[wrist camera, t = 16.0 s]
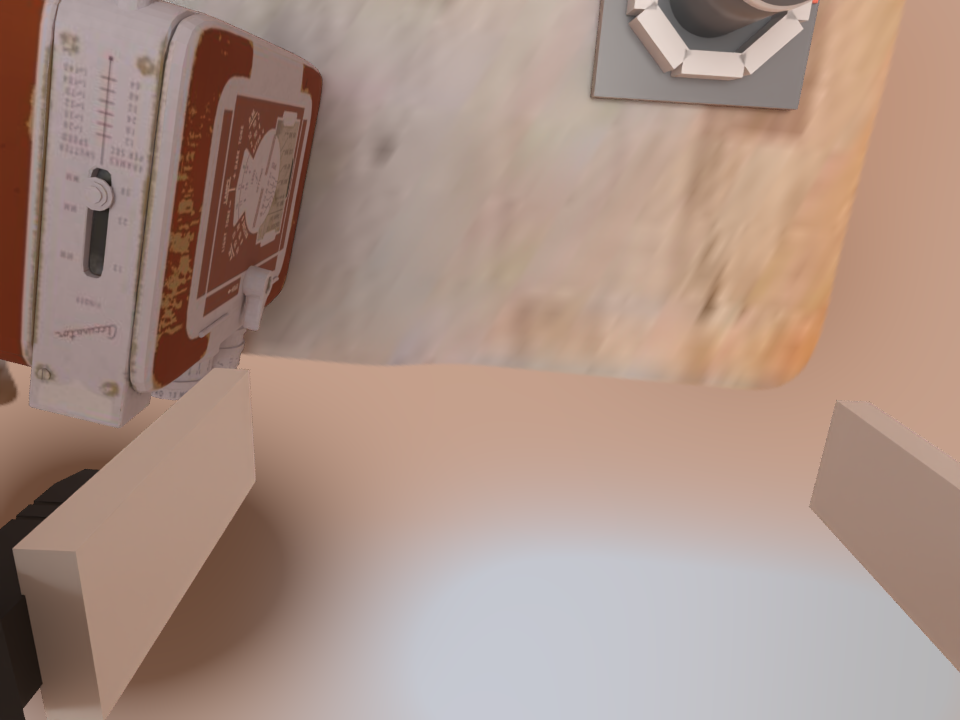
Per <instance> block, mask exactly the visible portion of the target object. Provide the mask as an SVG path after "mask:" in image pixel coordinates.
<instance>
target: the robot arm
mask: <svg viewBox="0 0 960 720" xmlns="http://www.w3.org/2000/svg"><path fill="white" fill-rule="evenodd" d="M255 481H256V475H255V456H254V440H253V422H252V405H251V387H250V371H249V369H230V368H213V369H212V370H211V371H210V372H209V373H208V374H207V375H206V376H204V377H203V378H202V379H201V380H200V381H199V382H198V383H197V384H196V385H194V386H193V387H192V388H191V389H190V390H189V391H188V392H187V393H185V394H184V395H183V396H182V397H181V398H180V399H179V400H178V401H177V402H176V403H174V404H173V405H172V406H171V407H170V408H169V409H168V410H166V411H165V412H164V413H163V414H162V415H161V416H160V417H159V418H158V419H156V420H155V421H154V422H153V423H152V424H151V425H150V426H149V427H148V428H146V429H145V430H144V431H143V432H142V433H141V434H140V435H139V436H137V437H136V439H134V440H133V441H132V442H131V443H130V444H129V445H127V446H126V447H125V448H124V449H123V450H122V451H121V452H120V453H118V454H117V455H116V456H115V457H114V458H113V459H112V460H111V461H110V462H109V463H107V464H106V465H105V466H104V467H103V468H102V469H101V470H92V469H84V470H82V471H80V472H78V473H76V474H74V475H72V476H70V477H68V478H66V479H63V480H61V481H60V482H57V483H55V484H54V485H53V486H51V487H50V488H49V489H48V490H46V491H45V492H44V493H43V494H42V495H41V496H40V497H38V498H37V499H36V500H34V504H33V505H31V504H30V505H28V506H27V507H26V508H25V509H24V510H22V511H21V512H20V513H19V514H18V515H17V516H16V519H12V520H11V521H9V522H8V523H7V524H6V525H5V526H3V527H2V528H1V529H0V720H25V717H24V713H23V708H24V707H25V706H26V704H27V703H28V702H29V701H30V699H31V698H32V697H33V695H34V694H35V693H36V691H37V690H38V689H39V688H40V689H41V694H42V699H43V703H44V709H45V713H46V718H47V720H106V718H107V717H108V715H109V713H110V712H111V710H112V709H113V707H114V705H115V704H116V702H117V701H118V699H119V697H120V696H121V694H122V693H123V691H124V690H125V688H126V686H127V685H128V683H129V682H130V680H131V678H132V677H133V675H134V674H135V672H136V670H137V669H138V667H139V666H140V664H141V662H142V661H143V659H144V658H145V656H146V654H147V653H148V651H149V650H150V648H151V646H152V645H153V643H154V642H155V640H156V639H157V637H158V636H159V634H160V632H161V631H162V629H163V628H164V626H165V624H166V622H167V621H168V620H169V618H170V616H171V615H172V613H173V612H174V610H175V608H176V607H177V605H178V604H179V602H180V601H181V599H182V597H183V596H184V594H185V593H186V591H187V589H188V588H189V586H190V585H191V583H192V581H193V580H194V578H195V577H196V575H197V573H198V572H199V570H200V569H201V567H202V565H203V564H204V562H205V561H206V559H207V557H208V556H209V554H210V553H211V551H212V550H213V548H214V546H215V545H216V543H217V541H218V540H219V539H220V537H221V535H222V534H223V532H224V530H225V529H226V527H227V526H228V524H229V523H230V521H231V519H232V518H233V516H234V515H235V513H236V512H237V510H238V508H239V507H240V505H241V504H242V502H243V500H244V499H245V497H246V496H247V494H248V492H249V491H250V489H251V488H252V486H253V484H254V483H255ZM809 507H810V508H811V509H812V510H813V511H814V513H815V514H816V515H817V516H818V517H819V518H820V519H821V520H822V521H823V523H824V524H825V525H826V526H827V527H828V528H829V529H830V530H831V531H832V532H833V533H834V535H835V536H836V537H837V538H838V539H839V540H840V541H841V542H842V543H843V545H844V546H845V547H846V548H847V549H848V550H849V551H850V552H851V553H852V554H853V555H854V557H855V558H856V559H857V560H858V561H859V562H860V563H861V564H862V565H863V566H864V567H865V569H866V570H867V571H868V572H869V573H870V574H871V575H872V576H873V577H874V579H875V580H876V581H877V582H878V583H879V584H880V585H881V586H882V587H883V588H884V590H885V591H886V592H887V593H888V594H889V595H890V596H891V597H892V598H893V599H894V601H896V603H897V604H898V605H899V606H900V607H901V608H902V609H903V610H904V611H905V613H906V614H907V615H908V616H909V617H910V618H911V619H912V620H913V621H914V623H915V624H916V625H917V626H918V627H919V628H920V629H921V630H922V631H923V632H924V634H925V635H926V636H927V637H928V638H929V639H930V640H931V641H932V642H933V643H934V644H935V646H936V647H937V648H938V649H939V650H940V651H941V652H942V653H943V654H944V656H946V658H947V659H948V660H949V661H950V662H951V663H952V664H953V665H954V667H955V668H956V669H957V670H958V671H959V672H960V462H959V461H957V460H956V459H954V458H953V457H951V456H950V455H948V454H947V453H945V452H944V451H942V450H941V449H939V448H938V447H936V446H935V445H933V444H932V443H930V442H929V441H927V440H926V439H924V438H923V437H921V436H920V435H918V434H917V433H915V432H914V431H912V430H911V429H909V428H908V427H906V426H905V425H903V424H902V423H900V422H899V421H897V420H896V419H894V418H893V417H891V416H890V415H888V414H887V413H885V412H884V411H882V410H881V409H879V408H878V407H876V406H875V405H873V404H872V403H871V402H862V401H842V400H836V404H835V407H834V411H833V415H832V419H831V423H830V427H829V431H828V435H827V439H826V443H825V447H824V451H823V455H822V458H821V462H820V467H819V470H818V474H817V478H816V482H815V486H814V490H813V494H812V498H811V501H810V506H809Z"/></svg>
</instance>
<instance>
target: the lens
mask: <svg viewBox="0 0 960 720" xmlns="http://www.w3.org/2000/svg"><path fill="white" fill-rule="evenodd" d="M669 1H670V6H671V9H672V12H673V14H674V17H675V18H676V20H677V21H678V23H679V24H680V25H681V26H682V27H683V28H684V29H685V30H687V31H688V32H690V33H691V34H694V35H696V36H699V37H705V38H713V37H719V36H722V35H725V34H728V33H730V32H732V31H735V30H737V29H740V28H742V27H745V26H747V25H749V24H752V23H754V22H757V21H759V20H762V19H764V18H766V17H769V16H771V15H774V14H776V13H779V12H782V11H788V10H791V9H794V8H797V7H799V6H802V5H804V4H807V3H809V2H811V1H813V0H669Z"/></svg>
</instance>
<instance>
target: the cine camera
mask: <svg viewBox="0 0 960 720" xmlns="http://www.w3.org/2000/svg"><path fill="white" fill-rule="evenodd" d="M321 90H322V77H321V75H320V73H319V71H318V69H317V68H315V67H314V66H313V65H312V64H311V63H309V62H308V61H306V60H305V59H303V58H301V57H299V56H297V55H295V54H293V53H291V52H289V51H287V50H285V49H283V48H280V47H278V46H276V45H274V44H272V43H270V42H267V41H265V40H263V39H261V38H259V37H257V36H254V35H252V34H250V33H248V32H246V31H244V30H241V29H239V28H237V27H235V26H233V25H230V24H228V23H226V22H224V21H221V20H219V19H217V18H214V17H212V16H209V15H207V14H204V13H201V12H197V11H194V10H191V9H188V8H184V7H181V6H178V5H175V4H171V3H168V2H165V1H162V0H0V359H2V360H6V361H10V362H14V363H18V364H22V365H26V366H30V367H32V369H31V380H30V392H29V406H30V407H32V408H36V409H40V410H45V411H49V412H53V413H57V414H62V415H65V416H69V417H74V418H78V419H82V420H86V421H90V422H94V423H98V424H103V425H107V426H111V427H116V428H121V427H123V426H124V425H125V424H126V423H127V422H129V421H130V420H131V419H132V418H133V417H135V416H136V415H137V414H138V413H139V412H141V411H142V410H143V409H144V408H145V407H147V406H148V405H149V404H150V399H151V396H153V397H156V398H160V399H168V400H179V399H180V398H181V397H182V396H183V395H184V394H185V393H187V392H188V391H189V390H190V389H191V388H192V387H193V386H194V385H196V384H197V383H198V382H199V381H200V380H201V379H202V378H203V377H204V376H206V375H207V374H208V373H209V372H210V371H211V370H212V369H213V368H230V369H236V368H237V366H238V365H239V361H240V355H241V351H242V350H243V348H244V343H245V340H244V338H243V335H244V333H245V332H246V331H247V329H249V330H253V331H258V330H259V326H260V322H261V318H262V314H263V310H264V308H265V307H266V306H267V305H268V304H269V303H270V302H271V301H272V300H273V299H274V298H275V297H276V296H277V295H278V294H279V293H280V291H281V290H282V288H283V285H284V282H285V279H286V275H287V271H288V266H289V261H290V256H291V251H292V245H293V240H294V235H295V230H296V224H297V219H298V214H299V209H300V203H301V198H302V193H303V188H304V182H305V177H306V172H307V167H308V161H309V156H310V151H311V146H312V141H313V135H314V130H315V125H316V120H317V114H318V109H319V104H320V97H321Z"/></svg>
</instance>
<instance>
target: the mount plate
mask: <svg viewBox="0 0 960 720" xmlns="http://www.w3.org/2000/svg"><path fill="white" fill-rule="evenodd" d="M818 5H819V0H813V1H811V2H809V3H807V4H804V5H802V6H799V7H797V8H794V9H791V10H788V11H782V12H779V13H776V14H774V15H771V16H769V17H766V18H764V19H762V20H759V21H757V22H754V23H752V24H749V25H747V26H745V27H742V28H740V29H737V30H735V31H732V32H730V33H728V34H725V35H722V36H719V37H713V38H705V37H699V36H696V35H694V34H691V33H690V32H688V31H687V30H685V29H684V28H683V27H682V26H681V25H680V24H679V23H678V21H677V20H676V18H675V17H674V14H673V12H672V9H671V6H670V1H669V0H601V3H600V13H599V22H598V32H597V41H596V51H595V60H594V69H593V79H592V88H591V97H593V98H609V99H624V100H639V101H655V102H670V103H686V104H701V105H716V106H732V107H747V108H763V109H778V110H796V109H798V104H799V99H800V94H801V90H802V85H803V80H804V75H805V70H806V65H807V60H808V55H809V50H810V45H811V40H812V35H813V30H814V25H815V20H816V15H817V10H818Z"/></svg>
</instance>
